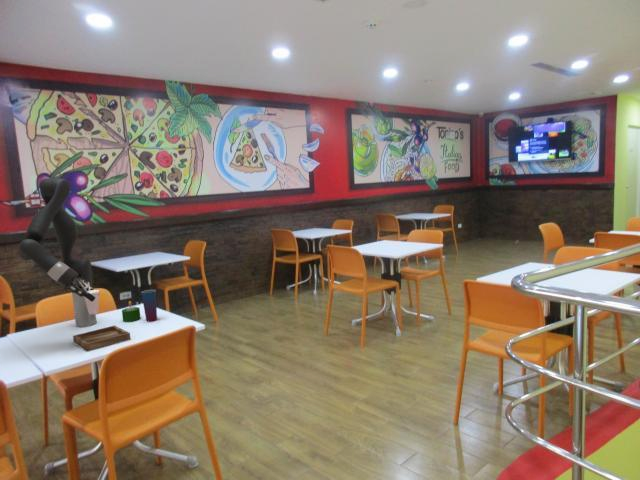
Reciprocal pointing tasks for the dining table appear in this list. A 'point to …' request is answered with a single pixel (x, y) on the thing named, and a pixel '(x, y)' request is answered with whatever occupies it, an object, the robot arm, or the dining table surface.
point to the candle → (131, 313)
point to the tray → (101, 338)
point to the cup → (150, 305)
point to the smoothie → (92, 305)
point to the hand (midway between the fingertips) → (95, 297)
